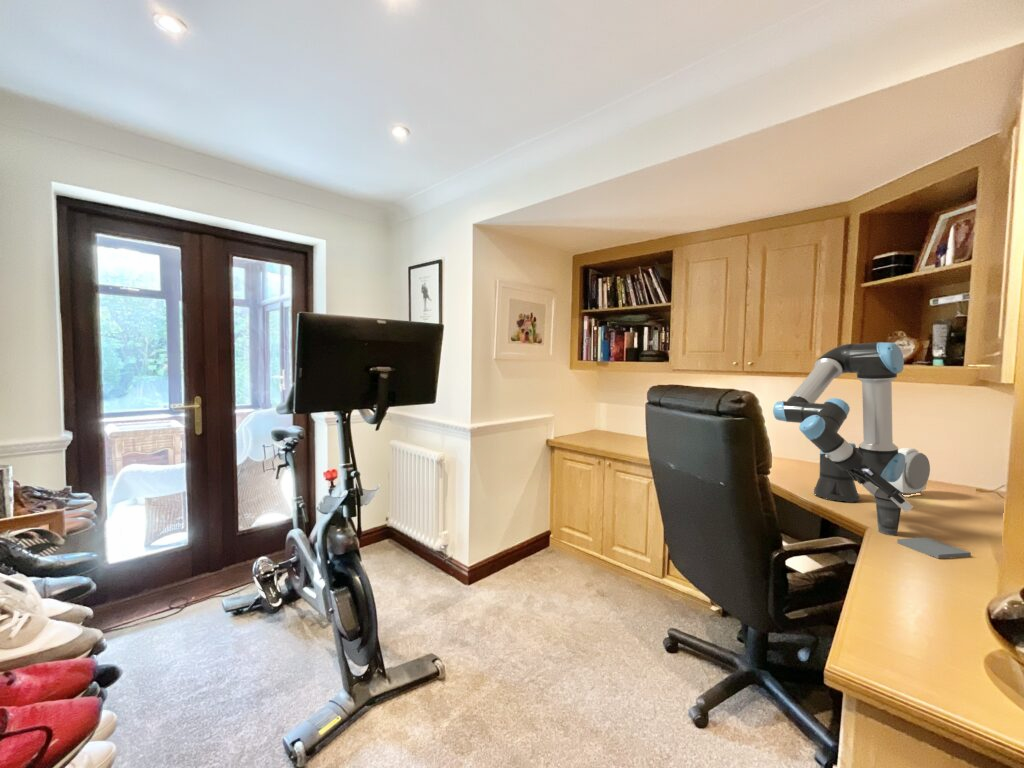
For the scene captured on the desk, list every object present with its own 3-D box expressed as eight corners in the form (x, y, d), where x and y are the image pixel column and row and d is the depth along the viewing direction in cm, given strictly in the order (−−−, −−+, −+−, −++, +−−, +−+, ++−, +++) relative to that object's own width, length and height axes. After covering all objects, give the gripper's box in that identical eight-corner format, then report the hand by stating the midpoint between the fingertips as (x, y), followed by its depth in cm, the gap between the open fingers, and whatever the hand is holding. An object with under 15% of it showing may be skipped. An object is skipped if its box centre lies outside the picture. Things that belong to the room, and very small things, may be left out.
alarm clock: (907, 490, 188) (908, 445, 188) (931, 495, 180) (933, 448, 180) (882, 493, 182) (883, 447, 181) (905, 499, 174) (907, 451, 173)
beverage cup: (892, 538, 132) (894, 476, 132) (867, 529, 139) (869, 470, 139) (908, 536, 134) (910, 474, 134) (883, 527, 141) (885, 469, 141)
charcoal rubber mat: (927, 541, 130) (927, 537, 130) (970, 556, 119) (970, 552, 119) (897, 543, 129) (897, 539, 129) (938, 558, 118) (938, 554, 118)
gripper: (815, 455, 152) (861, 498, 149) (856, 471, 127) (912, 523, 125) (832, 441, 150) (878, 485, 148) (876, 454, 126) (933, 507, 123)
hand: (894, 502), depth 136 cm, fingers open, 13 cm apart
